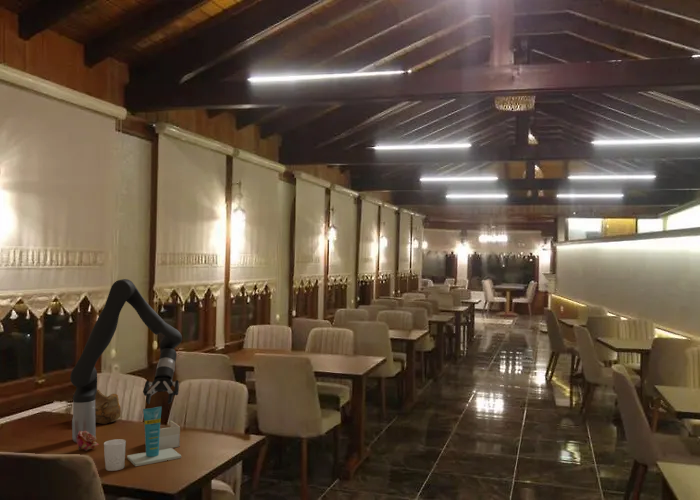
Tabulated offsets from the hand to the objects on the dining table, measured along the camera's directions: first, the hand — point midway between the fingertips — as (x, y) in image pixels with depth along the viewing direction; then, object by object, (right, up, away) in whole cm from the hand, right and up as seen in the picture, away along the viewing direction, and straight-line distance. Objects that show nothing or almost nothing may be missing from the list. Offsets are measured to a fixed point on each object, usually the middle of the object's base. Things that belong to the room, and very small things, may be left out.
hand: (158, 403), depth 263 cm
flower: (-31, -21, +4) cm, 38 cm away
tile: (+1, -20, -9) cm, 22 cm away
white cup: (-10, -20, -21) cm, 31 cm away
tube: (0, -19, -9) cm, 21 cm away
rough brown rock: (-47, -22, +51) cm, 73 cm away
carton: (-1, -20, +9) cm, 22 cm away
